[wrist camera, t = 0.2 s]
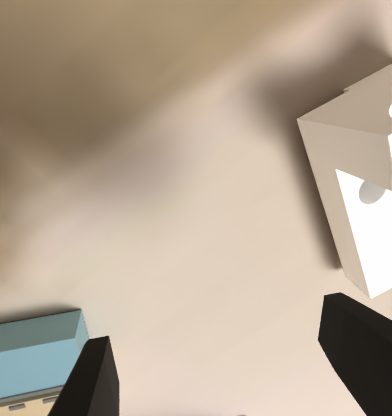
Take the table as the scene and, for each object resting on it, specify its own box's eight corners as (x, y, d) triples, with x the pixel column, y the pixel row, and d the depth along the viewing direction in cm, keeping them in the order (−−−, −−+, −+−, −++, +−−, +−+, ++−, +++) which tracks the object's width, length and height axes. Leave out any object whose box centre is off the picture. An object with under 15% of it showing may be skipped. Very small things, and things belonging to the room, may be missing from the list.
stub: (93, 353, 21) (88, 385, 19) (2, 371, 20) (-14, 407, 18) (81, 309, 19) (74, 339, 17) (-18, 327, 18) (-39, 360, 16)
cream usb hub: (119, 399, 23) (117, 432, 21) (-32, 433, 22) (-51, 473, 19) (108, 354, 21) (105, 385, 19) (-59, 387, 20) (-84, 426, 17)
